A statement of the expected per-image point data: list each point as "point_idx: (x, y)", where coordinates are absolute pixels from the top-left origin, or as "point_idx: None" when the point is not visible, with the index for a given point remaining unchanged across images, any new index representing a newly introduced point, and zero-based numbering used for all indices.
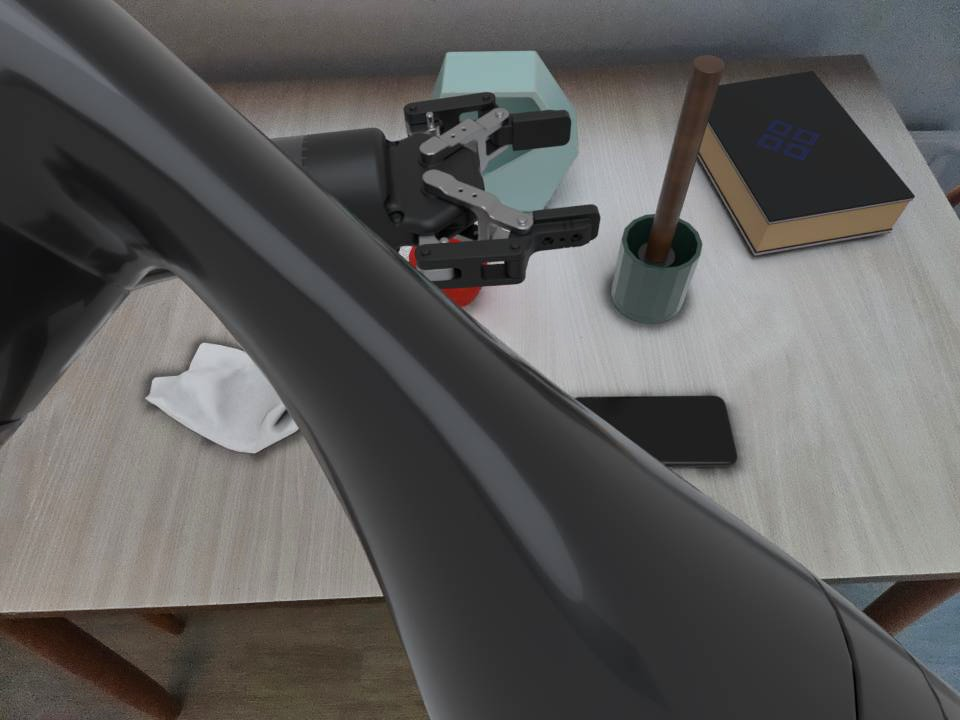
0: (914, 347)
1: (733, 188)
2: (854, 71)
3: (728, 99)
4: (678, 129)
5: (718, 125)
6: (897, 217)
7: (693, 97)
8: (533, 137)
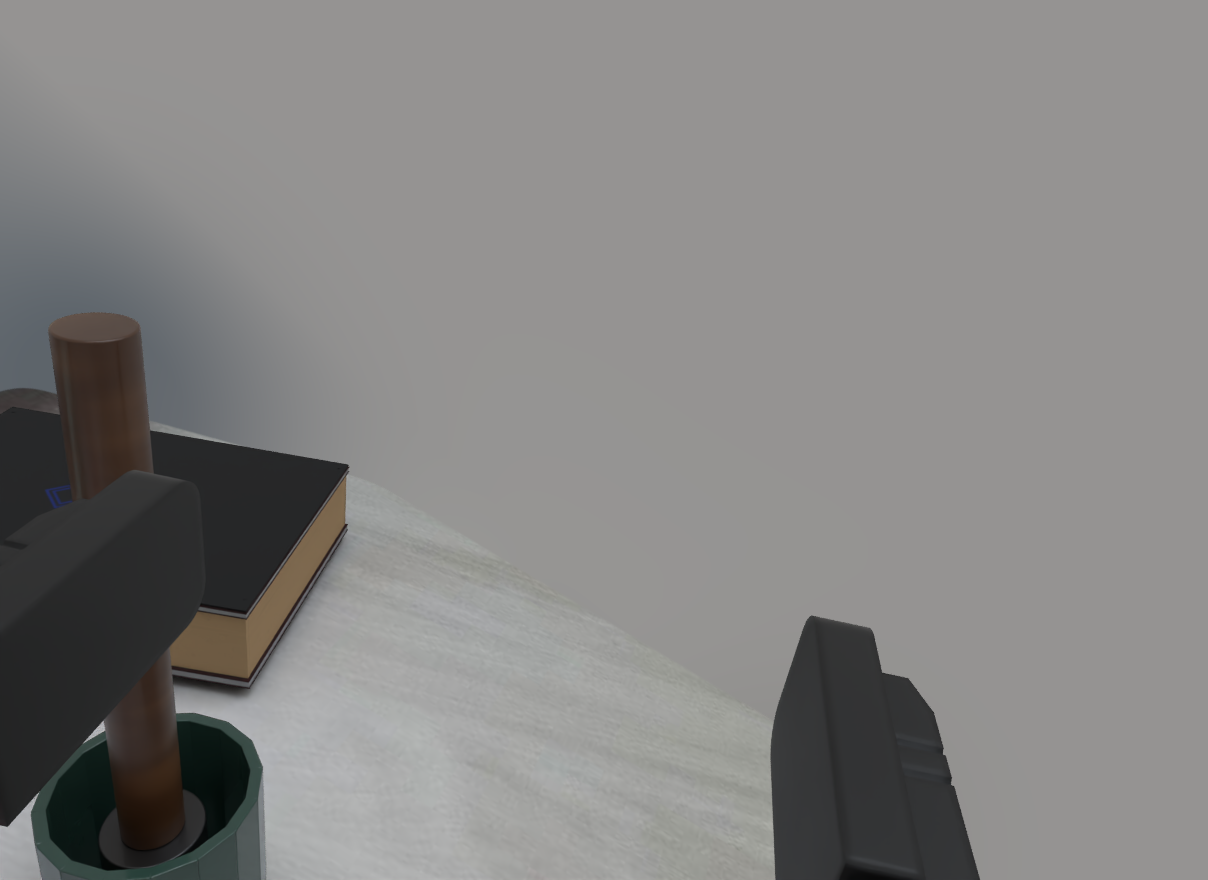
0: (534, 618)
1: None
2: (40, 399)
3: None
4: None
5: None
6: (344, 504)
7: (108, 414)
8: (84, 671)
